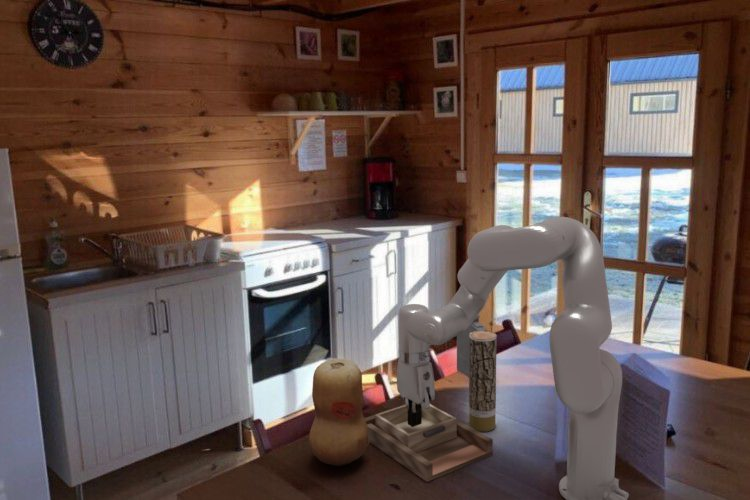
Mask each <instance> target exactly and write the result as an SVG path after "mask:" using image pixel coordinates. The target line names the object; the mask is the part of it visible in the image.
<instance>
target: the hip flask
mask: <svg viewBox="0 0 750 500" xmlns="http://www.w3.org/2000/svg"><path fill="white" fill-rule="evenodd" d="M479 319H480V313H479V314H478V316H477V317H476V318H475V319H474V321H473V322H472V323H471V324H470V326H469V327H468V328H467V329H466V330H465V331H464V332H462V333H461V334H459V335H457V336H456V371H458V372H459V371H460V373H461V374H463V375H465V376H466V377H468V378H469V336H470V333H472V332H475V331H488V328H487V327H486V326H485V325H483V324H482V323H480V321H479Z"/></svg>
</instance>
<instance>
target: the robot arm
mask: <svg viewBox="0 0 750 500" xmlns="http://www.w3.org/2000/svg"><path fill="white" fill-rule="evenodd" d="M466 253H467V260H466V261H465V262H464V263H463V265H462V266H461V267H460V268H459V270H458V273H457V281H458V282H459V284H460V286H459V288H458V290H457V292H456V293H455V294H454V295H453V296H452V298H451V299H450V301H449V302H448V303H447V304H446V305H445V306H443V307H441V308H439V309H436V310H434V311H431V312H430V310H429V308H428V307H427V306H426V305H424V304H419V303H409V304H405V305H402V306H401V307H400V308H399V310H398V361H397V368H396V369H397V370H396V388H397V389H396V390H397V393H398V394H399V396H400V397H401V398H402V399H403V400H404V401H405V405H406V408H407V409H408V425H410V426H411V427H414V426H417V425H420V424H421V423H422V410H423V409H425V410H426V409H429V408H430V404H431V402H430V401H434V400H435V396H436V394H435V391H436V390H435V377H434V369H433V366H432V365H433V364H432V362H430V360H431V357H430V356H431V352H430V350H431V349H430V347H431V346H432V345H433V346H440V345H443V344H445V343H446V342H449V341H451V340H452V339H454V338H455V337H457V335H459V334H461V333H462V332H464V331H465V330H466V329H467V328H468V327H469V326H470V324H471V323H472V322H473V321H474V319H475V318H476V317H477V316H478V314H479V315H480V313H481V312H482V310H483V309H484V307H486V306H485V305H486V304H487V301H488V299H489V297H490V294H491V293H492V292H493V291H494V290H495V288H496V286H497V285H498V283H500V281H501V280H502V278H503V277H504V276H505V274H506V273H508V271H516V270H517V271H518V270H530V269H532V270H533V269H539V268H544V267H547V266H548V267H549V265H553V264H554V263H556V262H557V261H559V260H560V261H561V263H562V276H561V281H562V282H561V283H562V284H561V285H562V290H563V291H562V292H563V299H564V310H563V311H562V312H560V314H558V315H557V316H556V317H555V318H554V320H553V322H552V323H551V325H550V330H549V331H550V332H549V350H550V356H551V357H550V358H551V359H550V360H551V365H552V373H553V381H554V386H555V387H554V388H555V391H556V394H557V395H556V396H557V397H558V399H559V401H560V403H562V405H563V406H564V407H565V408H567V410H569V413H568V415H569V416H568V433H567V434H568V436H567V437H568V439H567V462H566V465H567V466H566V475H564V476H563V477H562V478H561V479H560V481H559V484H558V490H559V493H560V495H561V496H562V497H563V498H564V499H565V500H628V498H629V496H630V494H629V492H627V491H625V490H623V489H621V488H620V486H619V485H620V484H619V481H620V479H619V478H616V477H615V471H616V470H615V467H616V452H617V432H618V431H617V430H618V419H619V418H618V417H619V416H618V415H619V407H620V406H619V405H620V398H621V393H622V386H623V370H622V366H621V364H620V361H618V359H617V357H615V356H614V355H613V353H611V352H610V351H607V350H604V349H600V347H601V346H602V345H603V344H604V343H605V342H606V341H607V340H608V338H609V337H610V335H611V333H612V331H613V322H612V316H611V308H610V300H609V291H608V286H607V285H608V284H607V278H606V269H605V259H604V255H603V250H602V246H601V244H600V241H599V240H598V237H597V236H596V234H595V233H594V232H593V231H592V230H591V229H590V227H588V226H587V225H585V223H582V222H581V221H579V220H577V219H575V218H571V217H567V216H554V217H549V218H547V219H544V220H542V221H539V222H537V223H534V224H532V225H527V226H519V227H512V226H510V225H506V224H500V225H495V226H492V227H488V228H485V229H483V230H481V231H479V232H476V233H475V234H474V235H473V236H472V237H471V239H470V241H469V243H468V246H467V252H466ZM430 345H431V346H430Z"/></svg>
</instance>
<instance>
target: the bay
mask: <svg viewBox="0 0 750 500" xmlns="http://www.w3.org/2000/svg"><path fill="white" fill-rule="evenodd" d="M364 419H365V421H366V424H367V429H368V438H369V444H372V445H373V446H374V447H376V448H377V449H379V450H380V451H382V452H383V453H384V454H386V455H387V456H389V457H390V458H392V459H393V460H394V461H396V462H397V463H399V464H401V466H403V467H405V468H406V469H407V470H409V471H411V473H413V474H414V475H416V476H418V478H420V479H422V480H423V481H424V482H426V483H429V482H430V481H433V480H436V479H437V478H441V477H443V476H445V475H448V474H450V473H452V472H454V471H457V470H459V469H461V468H464V467H466V466H469V465H472V464H474V463H476V462H479V461H481V460H484V459H486V458H488V457H490V456H493V453H494V452H493V451H494V449H493V447H494V446H493V444H494V442H493V441H494V440H493V438H492V437H490V436H487V435H485V434H484V433H482V432H480V431H476V430H475V429H473V428H471V427H470V425H468V424H465V423H464V422H462V421H459V420H458V419H457V437H456V438H453V439H450V440H448V441H445V442H443V443H440V444H437V445H435V446H432V447H429V448H427V449H424V450H422V451H419V452H414V451H413V450H411V449H410V448H408V447H407V446H405V445H404V444H402V443H400V442H399V441H397V440H396V439H394V438H393V437H391V436H390V435H388V434H387V433H385V432H384V431H382V430H381V429H379V428H378V427H376V426H375V414H372V415H369V416H368V417H364Z"/></svg>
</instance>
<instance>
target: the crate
mask: <svg viewBox="0 0 750 500" xmlns="http://www.w3.org/2000/svg"><path fill="white" fill-rule="evenodd" d="M374 415H375V426H376V427H378V428H379V429H381V430H382V431H384V432H385V433H387V434H388V435H390V436H391V437H393V438H394V439H396V440H397V441H399V442H400V443H402V444H404V445H405V446H407V447H408V448H410V449H411V450H413V451H414V452H419V451H422V450H424V449H427V448H429V447H432V446H435V445H437V444H440V443H443V442H445V441H448V440H450V439H453V438H456V437H457V420H458V419H457V417H455V416H453V415H451V414H449V413H447V412H445V411H444V410H442V409H440V408H438V407H436V406H435V405H432V404H431V403H430V408H429V409H426V410H425V409H423V410H422V423H421V424H420V425H417V426H414V427H411V426H410V425H408V409H407V408H406V404H402V405H401V406H397V407H394V408H391V409H387V410H385V411H382V412H379V413H376V414H374Z"/></svg>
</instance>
